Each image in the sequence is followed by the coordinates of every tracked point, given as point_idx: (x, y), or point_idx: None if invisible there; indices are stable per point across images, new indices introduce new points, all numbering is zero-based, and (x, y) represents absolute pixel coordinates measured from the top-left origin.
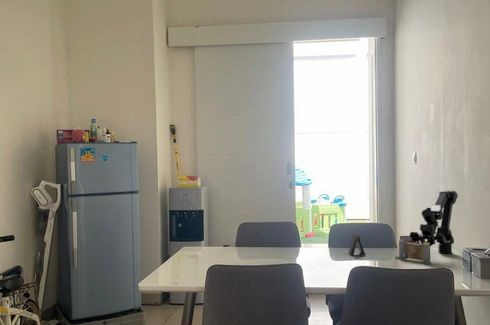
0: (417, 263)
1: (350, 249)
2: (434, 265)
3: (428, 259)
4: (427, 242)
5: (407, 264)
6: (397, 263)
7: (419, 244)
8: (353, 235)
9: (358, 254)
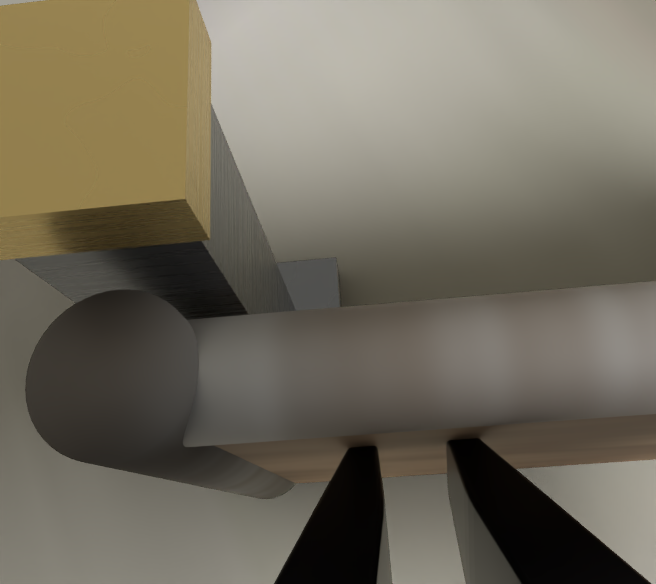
0: (392, 232)
1: None
2: None
3: None
4: (42, 208)
5: (465, 53)
6: (622, 4)
7: (569, 294)
8: None
9: None
